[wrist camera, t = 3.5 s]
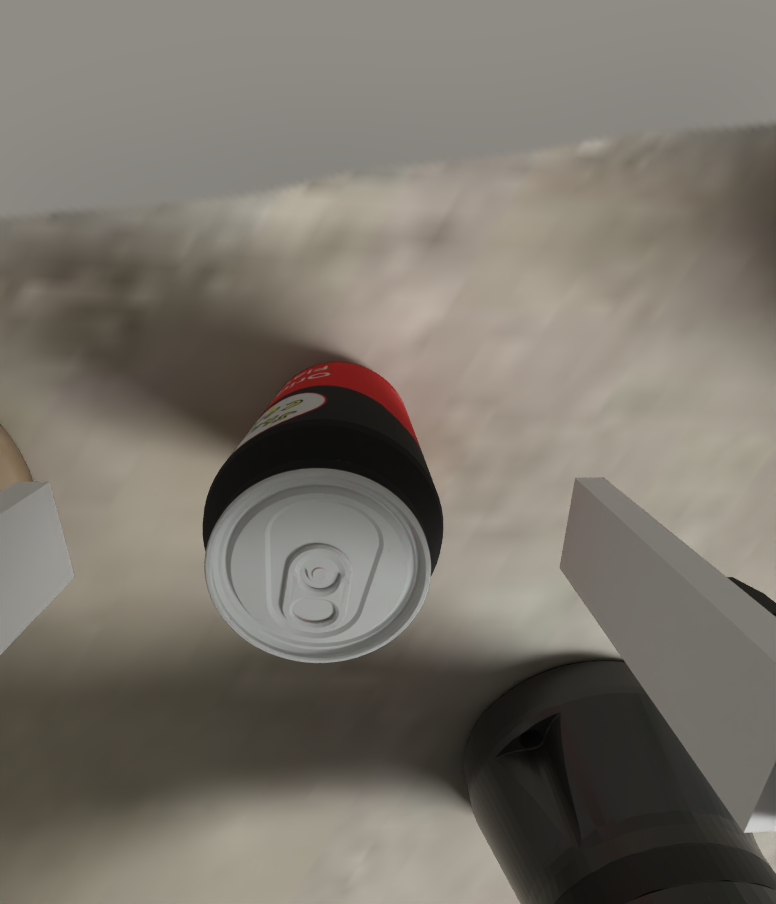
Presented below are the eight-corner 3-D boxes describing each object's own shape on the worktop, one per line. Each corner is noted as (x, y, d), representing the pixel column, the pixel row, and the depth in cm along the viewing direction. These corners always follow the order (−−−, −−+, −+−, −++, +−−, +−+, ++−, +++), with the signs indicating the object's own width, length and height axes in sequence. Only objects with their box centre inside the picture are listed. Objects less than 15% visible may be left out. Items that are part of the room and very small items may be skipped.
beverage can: (419, 370, 21) (487, 467, 10) (394, 495, 23) (426, 693, 12) (279, 347, 20) (180, 422, 9) (266, 477, 22) (172, 670, 11)
